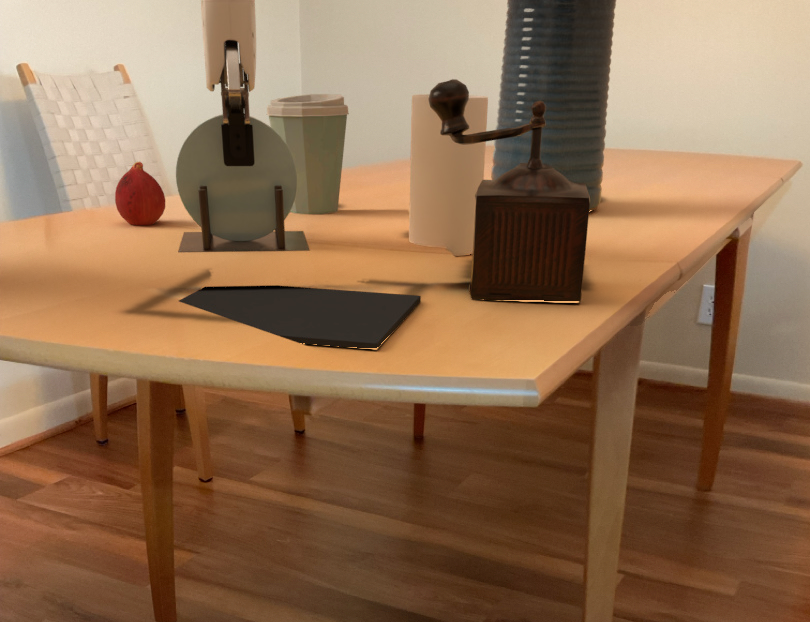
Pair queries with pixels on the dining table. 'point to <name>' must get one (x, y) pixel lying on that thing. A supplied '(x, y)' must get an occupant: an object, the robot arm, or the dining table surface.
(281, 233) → the rack
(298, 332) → the mat
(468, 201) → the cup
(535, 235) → the manual coffee grinder
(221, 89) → the robot arm
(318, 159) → the disposable coffee cup
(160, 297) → the dining table surface
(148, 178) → the pomegranate
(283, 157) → the plate
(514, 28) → the vase
